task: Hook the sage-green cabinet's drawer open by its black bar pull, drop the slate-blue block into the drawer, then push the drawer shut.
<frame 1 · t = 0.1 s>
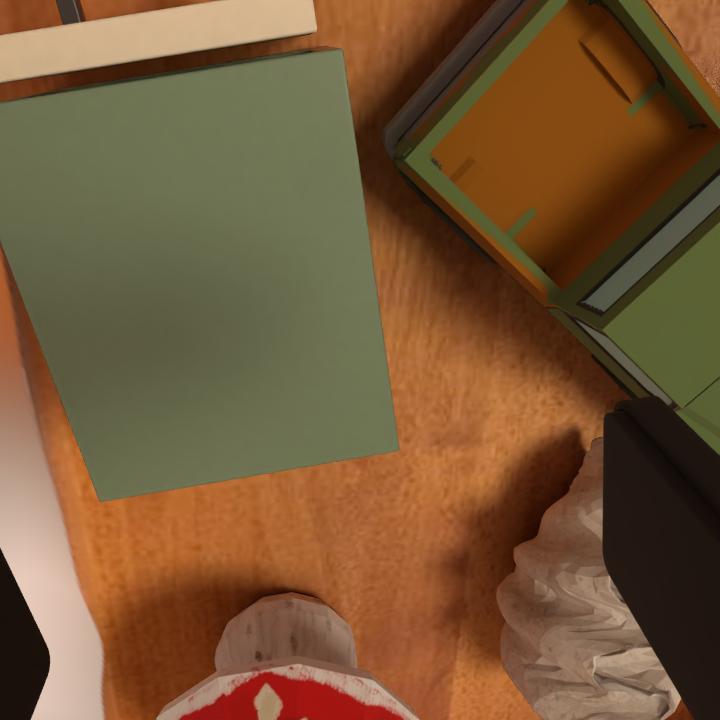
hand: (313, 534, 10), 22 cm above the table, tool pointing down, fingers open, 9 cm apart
cabinet: (229, 232, 30), on the table
seashell: (566, 541, 40), on the table
drawer: (188, 136, 24), point 5 cm above the table, slide at 0.5 cm
decorative mushroom: (287, 629, 41), on the table
toy truck: (604, 213, 32), on the table
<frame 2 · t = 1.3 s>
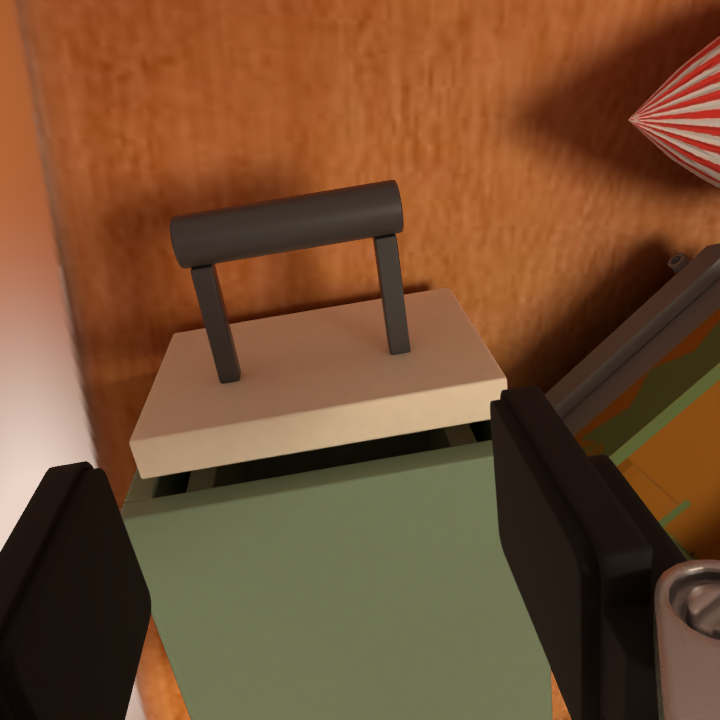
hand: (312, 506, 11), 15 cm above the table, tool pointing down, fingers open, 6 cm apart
cabinet: (346, 489, 29), on the table
drawer: (334, 455, 23), point 5 cm above the table, slide at 0.5 cm
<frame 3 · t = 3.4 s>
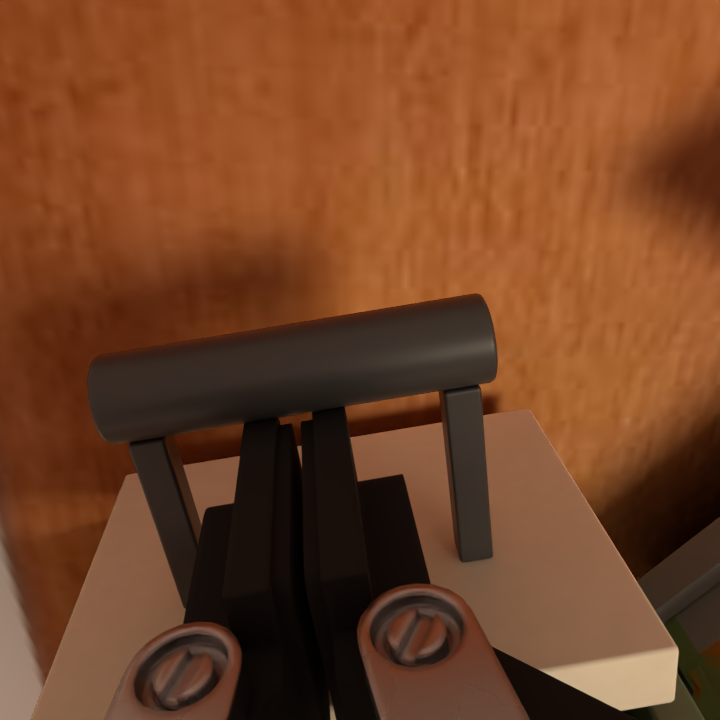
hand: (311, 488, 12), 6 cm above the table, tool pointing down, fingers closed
cabinet: (372, 659, 21), on the table
drawer: (363, 675, 15), point 5 cm above the table, slide at 0.7 cm, touching gripper
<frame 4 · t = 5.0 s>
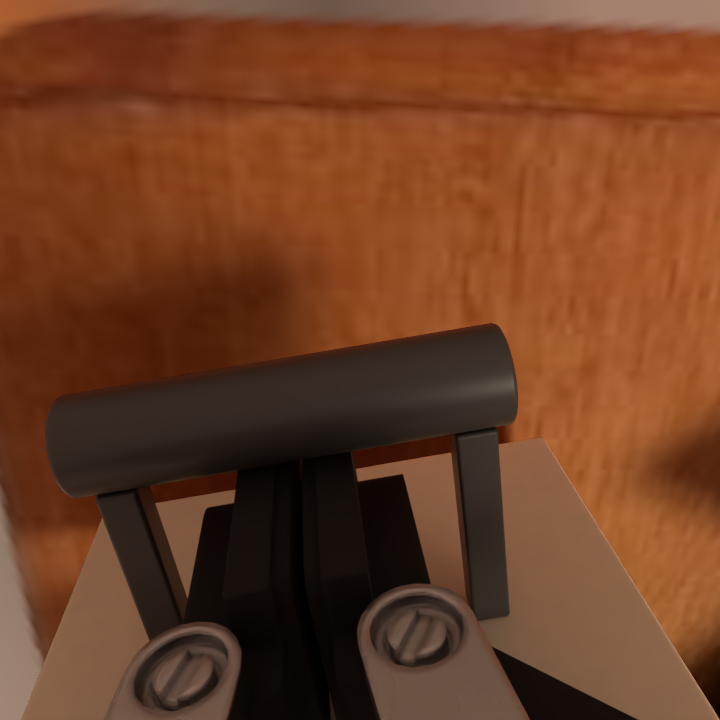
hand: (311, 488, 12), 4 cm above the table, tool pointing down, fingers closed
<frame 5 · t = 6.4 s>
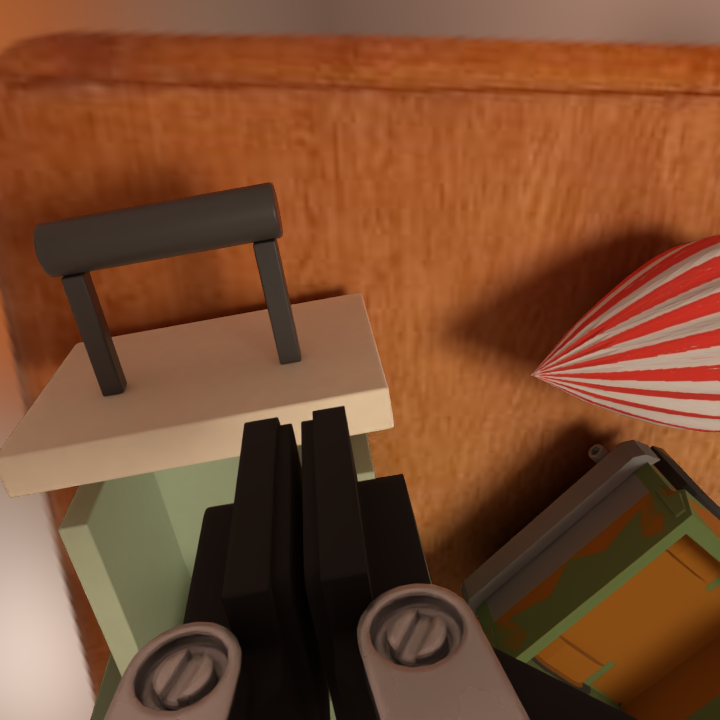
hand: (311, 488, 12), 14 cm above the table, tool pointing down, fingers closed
cabinet: (306, 635, 31), on the table
drawer: (236, 468, 22), point 5 cm above the table, slide at 8.1 cm
toy truck: (668, 596, 32), on the table
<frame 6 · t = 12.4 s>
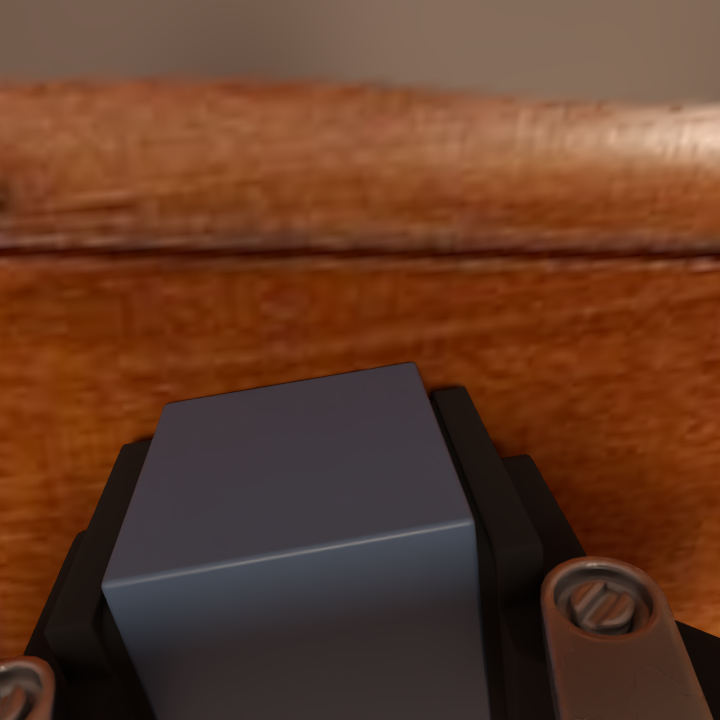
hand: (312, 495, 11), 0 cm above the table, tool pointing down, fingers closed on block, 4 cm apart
block: (311, 484, 12), on the table, touching gripper
when the fingers open (10 cm above the table, at t = 21.3 s): block drops 8 cm, resting on drawer.
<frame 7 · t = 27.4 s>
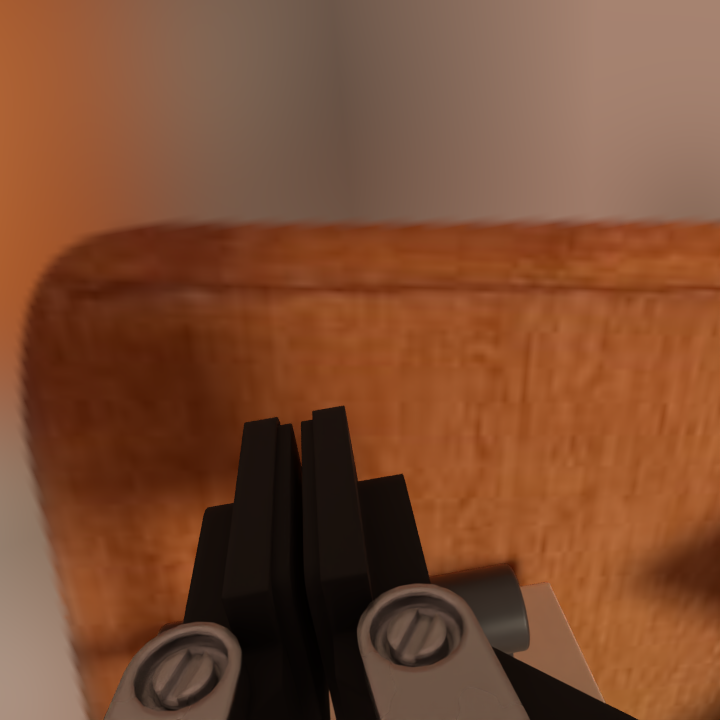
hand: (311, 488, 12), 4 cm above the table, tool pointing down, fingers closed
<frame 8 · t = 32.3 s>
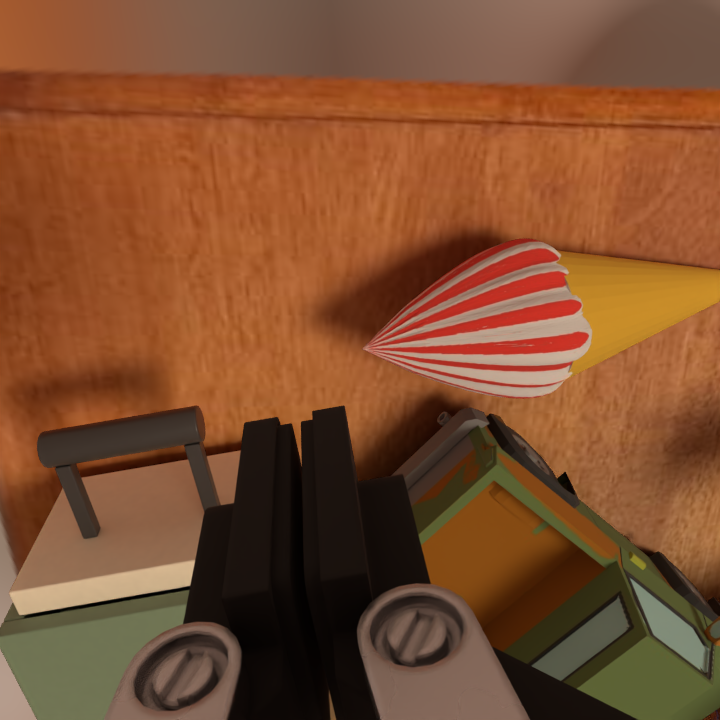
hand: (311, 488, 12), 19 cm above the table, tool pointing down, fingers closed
cabinet: (213, 576, 36), on the table
drawer: (180, 577, 30), point 5 cm above the table, slide at 0.0 cm, touching block, cabinet
ice cream cone: (561, 297, 32), on the table
toy truck: (528, 548, 38), on the table
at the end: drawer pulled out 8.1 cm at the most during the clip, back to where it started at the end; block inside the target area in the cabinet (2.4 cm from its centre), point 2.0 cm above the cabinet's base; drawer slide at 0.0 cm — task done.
